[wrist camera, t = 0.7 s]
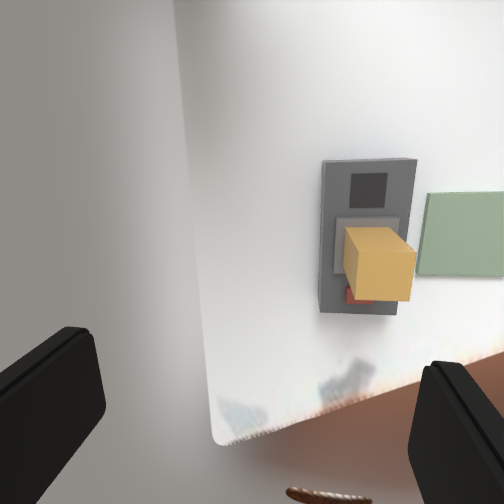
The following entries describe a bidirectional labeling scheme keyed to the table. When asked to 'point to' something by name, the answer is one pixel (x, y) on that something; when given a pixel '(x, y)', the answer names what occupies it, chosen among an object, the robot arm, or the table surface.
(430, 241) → the mat
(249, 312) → the table surface
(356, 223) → the plug
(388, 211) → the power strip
